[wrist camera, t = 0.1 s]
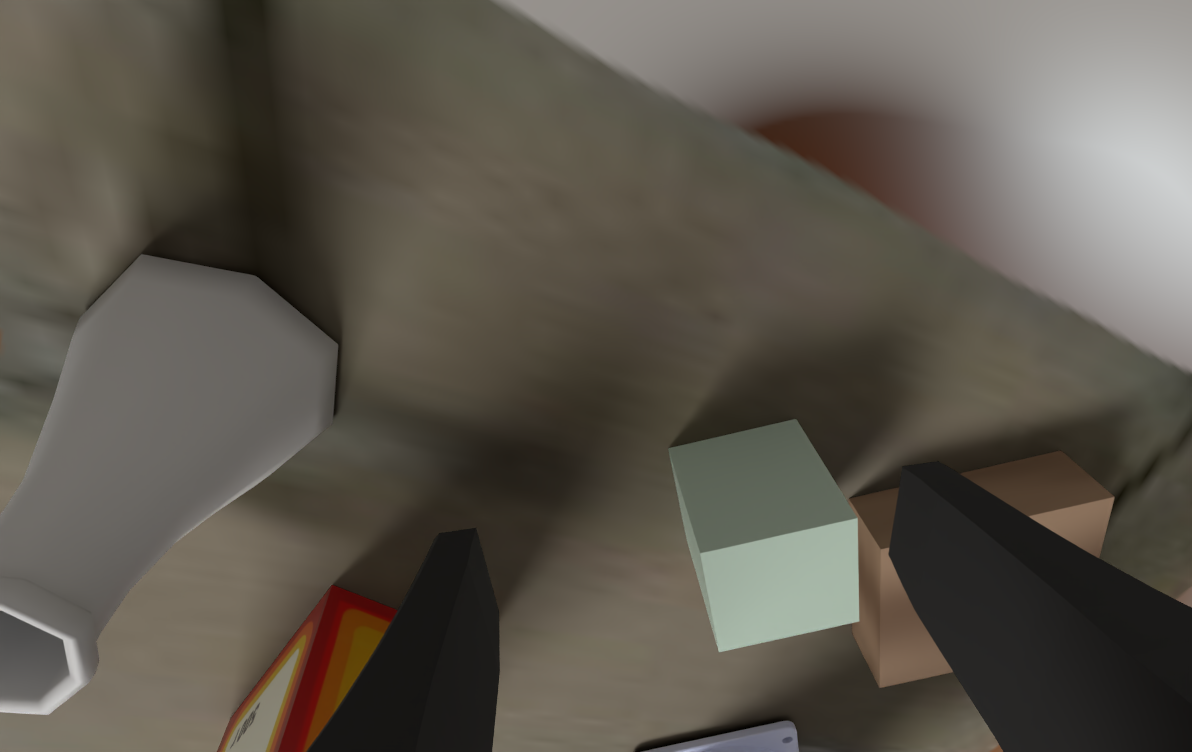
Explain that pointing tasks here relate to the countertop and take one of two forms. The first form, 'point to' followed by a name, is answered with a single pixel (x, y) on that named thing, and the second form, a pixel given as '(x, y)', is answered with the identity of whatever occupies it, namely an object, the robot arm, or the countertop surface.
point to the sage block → (767, 535)
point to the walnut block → (885, 611)
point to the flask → (146, 453)
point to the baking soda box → (309, 676)
